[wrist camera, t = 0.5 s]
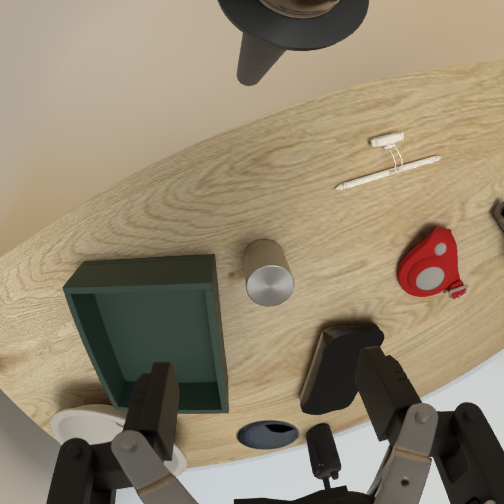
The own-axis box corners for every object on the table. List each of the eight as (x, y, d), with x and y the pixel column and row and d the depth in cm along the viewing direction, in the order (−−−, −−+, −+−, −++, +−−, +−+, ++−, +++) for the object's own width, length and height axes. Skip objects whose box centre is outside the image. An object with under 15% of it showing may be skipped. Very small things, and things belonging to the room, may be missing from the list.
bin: (83, 261, 33) (62, 287, 27) (214, 253, 33) (212, 282, 28) (123, 379, 41) (114, 410, 36) (228, 380, 42) (228, 413, 36)
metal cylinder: (242, 240, 33) (245, 266, 28) (284, 238, 33) (295, 263, 28) (244, 277, 35) (247, 308, 29) (283, 274, 35) (293, 304, 30)
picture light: (334, 191, 31) (341, 196, 29) (324, 151, 30) (330, 154, 28) (440, 159, 30) (451, 162, 28) (434, 123, 28) (444, 124, 27)
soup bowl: (43, 367, 40) (28, 396, 34) (183, 388, 42) (179, 423, 36) (83, 443, 50) (76, 467, 44) (193, 459, 52) (192, 486, 46)
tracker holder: (389, 301, 36) (418, 236, 30) (385, 278, 40) (409, 215, 34) (465, 310, 35) (498, 253, 29) (457, 288, 39) (485, 232, 32)
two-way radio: (315, 438, 51) (330, 505, 37) (296, 435, 50) (309, 505, 36) (333, 423, 49) (353, 493, 35) (314, 419, 48) (332, 493, 34)
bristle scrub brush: (321, 315, 38) (329, 334, 35) (380, 317, 39) (390, 333, 35) (294, 398, 45) (298, 417, 41) (344, 396, 46) (350, 413, 42)
